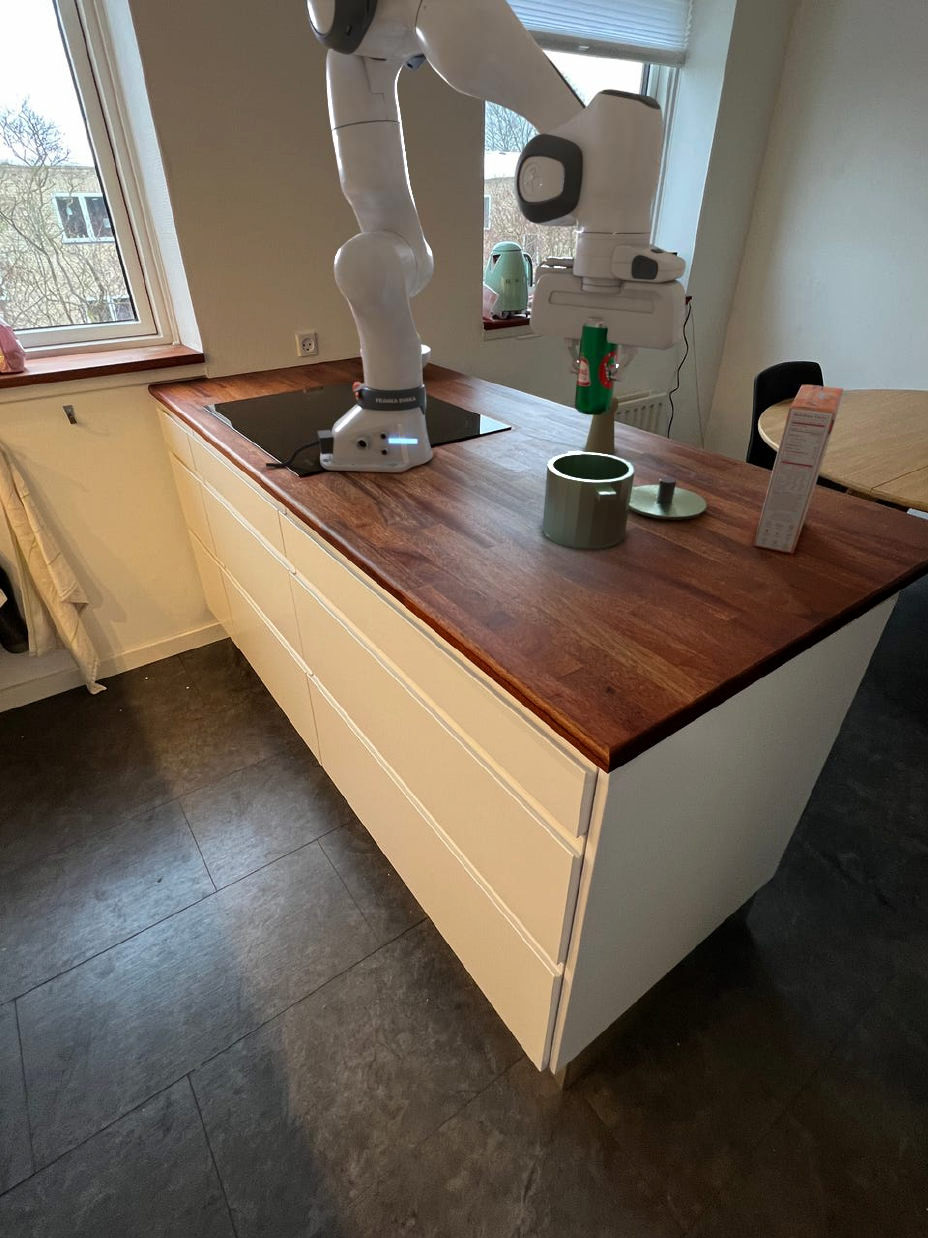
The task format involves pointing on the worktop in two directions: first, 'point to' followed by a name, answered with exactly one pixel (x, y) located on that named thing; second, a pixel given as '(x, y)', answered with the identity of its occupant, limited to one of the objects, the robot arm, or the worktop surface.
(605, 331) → the soda can
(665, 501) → the lid
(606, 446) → the beige pestle
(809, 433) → the cracker box
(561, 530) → the pot
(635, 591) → the worktop surface
